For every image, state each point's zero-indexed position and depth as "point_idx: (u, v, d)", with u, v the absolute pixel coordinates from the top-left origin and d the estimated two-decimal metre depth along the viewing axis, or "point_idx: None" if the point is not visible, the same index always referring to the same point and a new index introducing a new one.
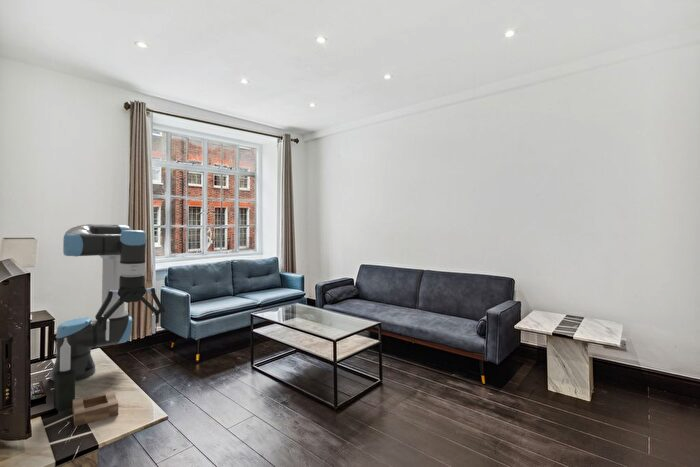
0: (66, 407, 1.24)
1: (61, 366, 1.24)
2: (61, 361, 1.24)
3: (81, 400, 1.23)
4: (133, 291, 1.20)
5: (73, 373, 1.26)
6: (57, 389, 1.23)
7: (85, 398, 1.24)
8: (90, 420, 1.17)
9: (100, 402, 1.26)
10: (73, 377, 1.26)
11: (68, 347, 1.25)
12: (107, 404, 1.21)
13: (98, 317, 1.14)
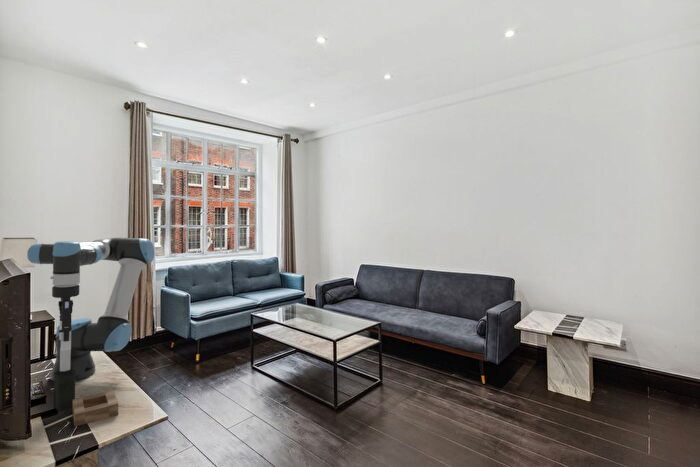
0: (66, 407, 1.24)
1: (61, 366, 1.24)
2: (61, 361, 1.24)
3: (81, 400, 1.23)
4: (61, 301, 1.23)
5: (73, 373, 1.26)
6: (57, 389, 1.23)
7: (85, 398, 1.24)
8: (90, 420, 1.17)
9: (100, 402, 1.26)
10: (73, 377, 1.26)
11: None
12: (107, 404, 1.21)
13: (59, 316, 1.31)
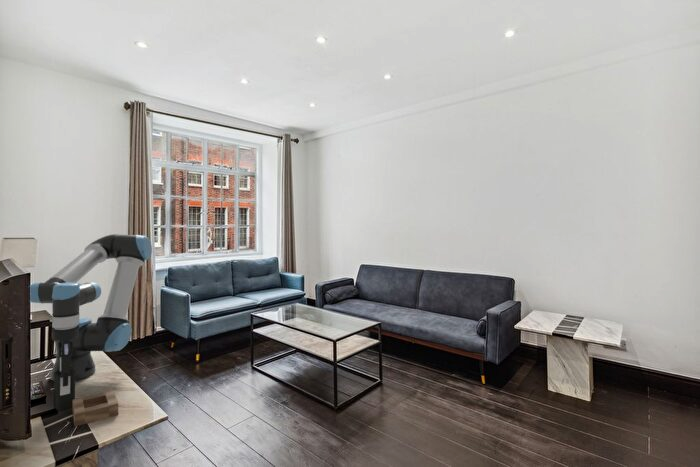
0: (66, 407, 1.24)
1: None
2: None
3: (81, 400, 1.23)
4: None
5: (73, 373, 1.26)
6: (57, 389, 1.23)
7: (85, 398, 1.24)
8: (90, 420, 1.17)
9: (100, 402, 1.26)
10: (73, 377, 1.26)
11: None
12: (107, 404, 1.21)
13: (59, 363, 1.29)
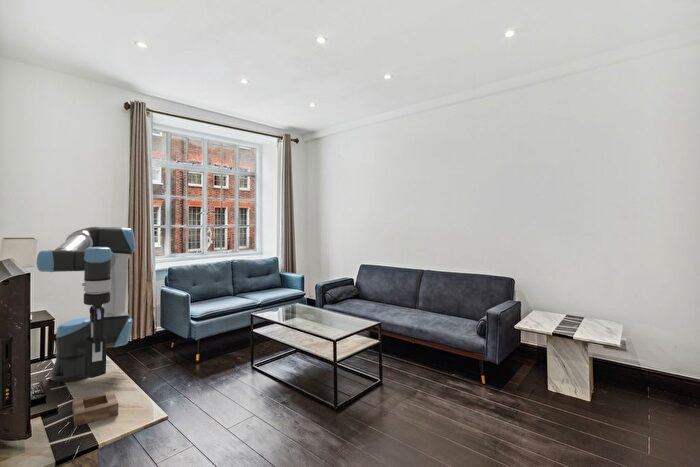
0: (98, 374, 1.21)
1: None
2: None
3: (81, 400, 1.23)
4: (93, 305, 1.20)
5: (104, 340, 1.22)
6: (89, 355, 1.19)
7: (85, 398, 1.24)
8: (90, 420, 1.17)
9: (100, 402, 1.26)
10: (104, 344, 1.22)
11: None
12: (107, 404, 1.21)
13: (90, 330, 1.25)
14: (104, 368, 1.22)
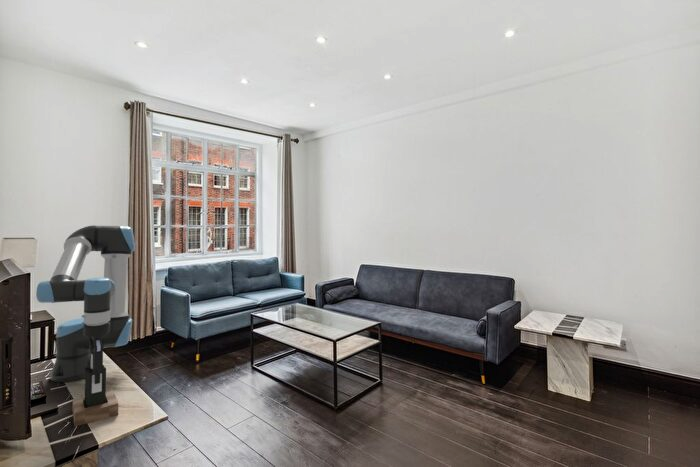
0: None
1: (92, 363, 1.21)
2: (92, 358, 1.21)
3: (81, 400, 1.23)
4: None
5: (104, 370, 1.22)
6: (88, 387, 1.20)
7: None
8: (90, 420, 1.17)
9: None
10: (104, 374, 1.22)
11: None
12: (107, 404, 1.21)
13: (89, 360, 1.26)
14: (104, 399, 1.23)
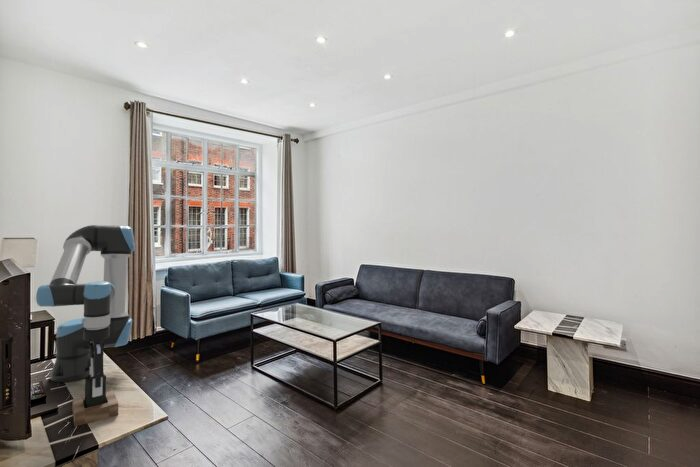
0: None
1: (92, 371, 1.21)
2: (92, 366, 1.21)
3: (81, 400, 1.23)
4: (92, 341, 1.21)
5: (104, 378, 1.23)
6: (88, 395, 1.20)
7: None
8: (90, 420, 1.17)
9: None
10: (104, 382, 1.23)
11: None
12: (107, 404, 1.21)
13: (89, 360, 1.27)
14: None
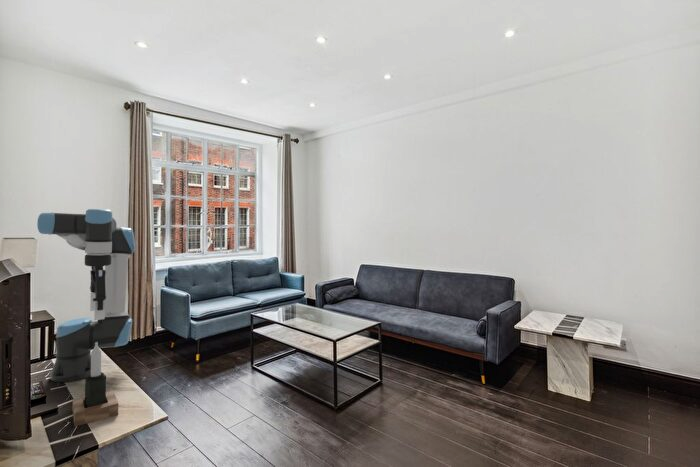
0: None
1: (92, 371, 1.21)
2: (92, 366, 1.21)
3: (81, 400, 1.23)
4: (94, 270, 1.20)
5: (104, 378, 1.23)
6: (88, 395, 1.20)
7: None
8: (90, 420, 1.17)
9: None
10: (104, 383, 1.23)
11: (99, 352, 1.22)
12: (107, 404, 1.21)
13: (90, 287, 1.28)
14: None
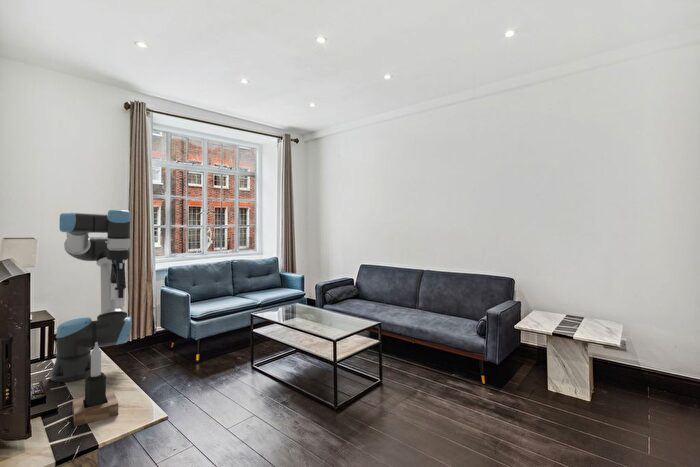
0: None
1: (92, 371, 1.21)
2: (92, 366, 1.21)
3: (81, 400, 1.23)
4: (114, 263, 1.37)
5: (104, 378, 1.23)
6: (88, 395, 1.20)
7: None
8: (90, 420, 1.17)
9: None
10: (104, 383, 1.23)
11: (99, 352, 1.22)
12: (107, 404, 1.21)
13: (110, 278, 1.45)
14: None
